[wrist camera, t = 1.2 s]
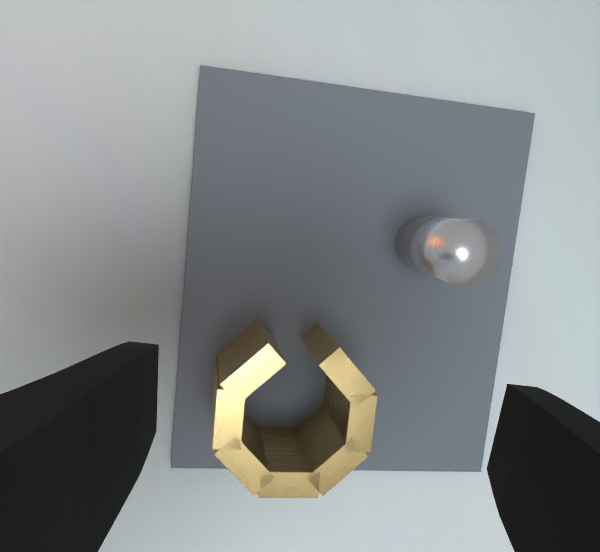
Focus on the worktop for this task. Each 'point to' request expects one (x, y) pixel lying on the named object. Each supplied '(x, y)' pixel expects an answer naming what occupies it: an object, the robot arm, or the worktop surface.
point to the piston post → (449, 249)
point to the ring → (290, 441)
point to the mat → (346, 257)
